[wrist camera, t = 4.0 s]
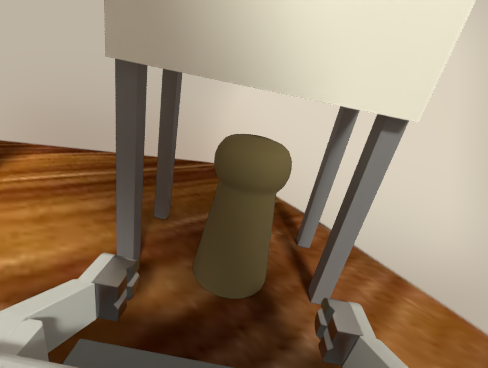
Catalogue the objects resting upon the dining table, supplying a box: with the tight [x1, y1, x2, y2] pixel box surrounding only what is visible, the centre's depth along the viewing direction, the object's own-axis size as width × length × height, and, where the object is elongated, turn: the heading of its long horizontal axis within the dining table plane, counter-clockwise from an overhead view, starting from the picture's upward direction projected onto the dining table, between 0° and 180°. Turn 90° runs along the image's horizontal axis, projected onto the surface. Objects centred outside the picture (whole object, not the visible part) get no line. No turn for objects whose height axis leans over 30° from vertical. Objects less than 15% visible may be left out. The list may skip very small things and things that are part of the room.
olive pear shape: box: [193, 134, 292, 299], centre depth 18 cm, size 6×6×11 cm
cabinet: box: [104, 0, 476, 304], centre depth 17 cm, size 10×16×29 cm, turn 86°
